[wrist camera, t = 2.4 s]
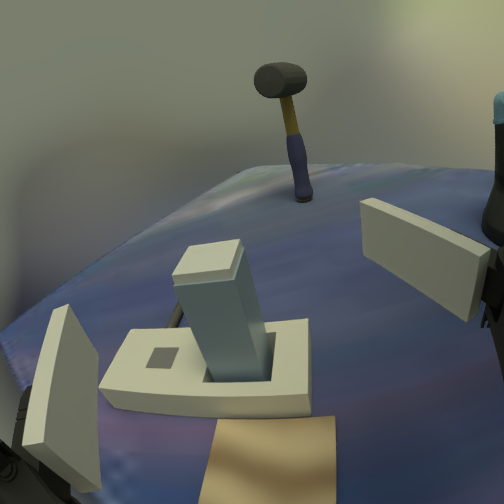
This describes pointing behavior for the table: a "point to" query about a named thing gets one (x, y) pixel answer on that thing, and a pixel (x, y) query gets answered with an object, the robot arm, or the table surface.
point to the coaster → (272, 462)
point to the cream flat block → (208, 375)
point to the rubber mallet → (288, 116)
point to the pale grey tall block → (224, 311)
